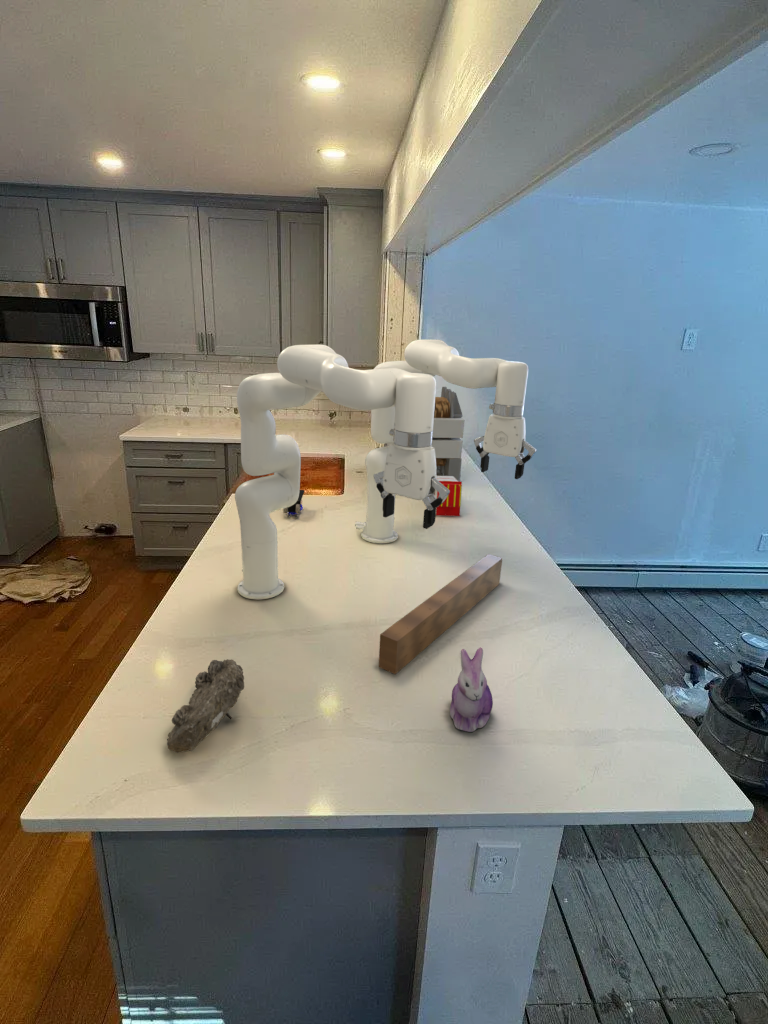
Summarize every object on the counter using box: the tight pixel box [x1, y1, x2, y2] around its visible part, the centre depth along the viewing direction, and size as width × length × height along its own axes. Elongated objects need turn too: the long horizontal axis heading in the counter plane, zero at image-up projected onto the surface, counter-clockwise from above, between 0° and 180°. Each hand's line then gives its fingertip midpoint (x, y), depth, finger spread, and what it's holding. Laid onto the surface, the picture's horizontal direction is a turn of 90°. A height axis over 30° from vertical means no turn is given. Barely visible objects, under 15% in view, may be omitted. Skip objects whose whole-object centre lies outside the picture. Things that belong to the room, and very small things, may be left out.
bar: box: [378, 553, 503, 675], centre depth 144 cm, size 55×4×8 cm, turn 145°
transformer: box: [383, 386, 465, 482], centre depth 268 cm, size 34×33×41 cm
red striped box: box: [434, 475, 463, 517], centre depth 230 cm, size 12×13×30 cm
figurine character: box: [282, 489, 305, 518], centre depth 214 cm, size 7×8×15 cm
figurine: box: [449, 647, 494, 733], centre depth 108 cm, size 9×10×15 cm
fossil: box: [166, 658, 245, 754], centre depth 106 cm, size 22×10×15 cm
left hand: (407, 521), depth 116 cm, fingers open, 9 cm apart
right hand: (500, 474), depth 152 cm, fingers open, 9 cm apart
